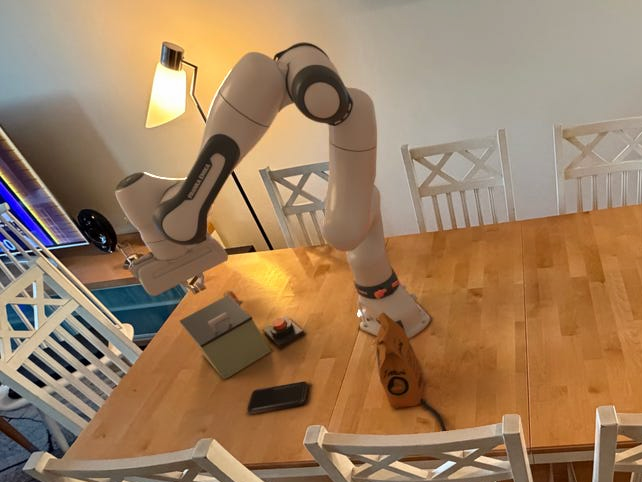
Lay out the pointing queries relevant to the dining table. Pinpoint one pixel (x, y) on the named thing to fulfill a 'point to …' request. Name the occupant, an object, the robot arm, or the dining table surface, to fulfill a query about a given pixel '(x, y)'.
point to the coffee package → (397, 365)
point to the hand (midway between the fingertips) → (199, 290)
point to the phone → (278, 397)
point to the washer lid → (215, 320)
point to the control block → (284, 333)
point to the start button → (279, 324)
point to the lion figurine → (232, 295)
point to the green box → (235, 349)
